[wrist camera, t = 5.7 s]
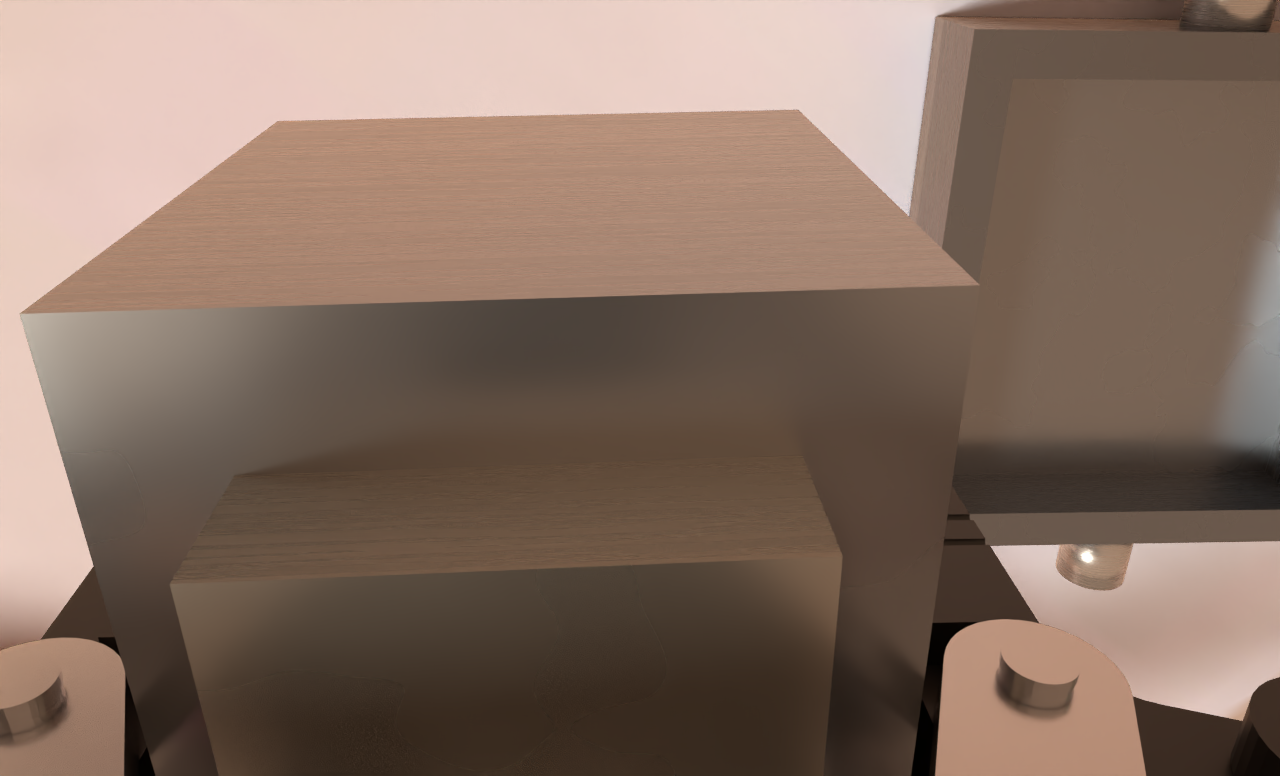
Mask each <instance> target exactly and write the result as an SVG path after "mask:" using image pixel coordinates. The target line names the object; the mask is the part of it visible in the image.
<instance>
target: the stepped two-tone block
mask: <svg viewBox="0 0 1280 776" xmlns="http://www.w3.org/2000/svg"><path fill="white" fill-rule="evenodd" d="M979 288H980V285H979V284H978V283H977V282H976V281H975V280H974V279H973V278H972V277H971V276H970V275H969V274H968V273H967V272H966V271H965V270H964V269H963V268H962V267H961V266H960V265H958V264H957V263H956V262H955V261H954V260H953V259H952V258H951V257H950V256H949V255H948V254H947V253H946V252H945V251H944V250H943V249H942V248H941V247H940V246H939V245H938V244H937V243H936V242H935V241H934V240H933V239H932V238H931V237H929V236H928V235H927V234H926V233H925V232H924V231H923V230H922V229H921V228H920V227H919V226H918V225H917V224H916V223H915V222H914V221H913V220H912V219H911V218H910V217H909V216H908V215H907V214H906V213H905V212H904V211H903V210H902V209H900V208H899V207H898V206H897V205H896V204H895V203H894V202H893V201H892V200H891V199H890V198H889V197H888V196H887V195H886V194H885V193H884V192H883V191H882V190H881V189H880V188H879V187H878V186H877V185H876V184H875V183H874V182H873V181H871V180H870V179H869V178H868V177H867V176H866V175H865V174H864V173H863V172H862V171H861V170H860V169H859V168H858V167H857V166H856V165H855V164H854V163H853V162H852V161H851V160H850V159H849V158H848V157H847V156H846V155H845V154H843V153H842V152H841V151H840V150H839V149H838V148H837V147H836V146H835V145H834V144H833V143H832V142H831V141H830V140H829V139H828V138H827V137H826V136H825V135H824V134H823V133H822V132H821V131H820V130H819V129H818V128H817V127H816V126H814V125H813V124H812V123H811V122H810V121H809V120H808V119H807V118H806V117H805V116H804V115H803V114H802V113H801V112H800V111H799V110H767V111H721V112H675V113H630V114H584V115H539V116H493V117H447V118H402V119H356V120H311V121H277V122H276V123H275V124H273V125H272V126H271V127H269V128H268V129H267V130H265V131H264V132H263V133H261V134H260V135H259V136H257V137H256V138H255V139H253V140H252V141H251V142H249V143H248V144H247V145H245V146H244V147H243V148H241V149H240V150H239V151H237V152H236V153H235V154H233V155H232V156H230V157H229V158H228V159H226V160H225V161H224V162H222V163H221V164H220V165H218V166H217V167H216V168H214V169H213V170H212V171H210V172H209V173H208V174H206V175H205V176H204V177H202V178H201V179H200V180H198V181H197V182H196V183H194V184H193V185H192V186H190V187H189V188H188V189H186V190H185V191H184V192H182V193H181V194H180V195H178V196H177V197H176V198H174V199H173V200H172V201H170V202H169V203H168V204H166V205H165V206H164V207H162V208H161V209H159V210H158V211H157V212H155V213H154V214H153V215H151V216H150V217H149V218H147V219H146V220H145V221H143V222H142V223H141V224H139V225H138V226H137V227H135V228H134V229H133V230H131V231H130V232H129V233H127V234H126V235H125V236H123V237H122V238H121V239H119V240H118V241H117V242H115V243H114V244H113V245H111V246H110V247H109V248H107V249H106V250H105V251H103V252H102V253H101V254H99V255H98V256H97V257H95V258H94V259H92V260H91V261H90V262H88V263H87V264H86V265H84V266H83V267H82V268H80V269H79V270H78V271H76V272H75V273H74V274H72V275H71V276H70V277H68V278H67V279H66V280H64V281H63V282H62V283H60V284H59V285H58V286H56V287H55V288H54V289H52V290H51V291H50V292H48V293H47V294H46V295H44V296H43V297H42V298H40V299H39V300H38V301H36V302H35V303H34V304H32V305H31V306H30V307H28V308H27V309H25V310H24V311H23V312H21V313H20V317H21V320H22V324H23V327H24V330H25V334H26V337H27V341H28V344H29V347H30V351H31V354H32V358H33V361H34V364H35V368H36V371H37V375H38V378H39V381H40V385H41V388H42V392H43V395H44V398H45V402H46V405H47V409H48V412H49V415H50V419H51V422H52V426H53V429H54V432H55V436H56V439H57V443H58V446H59V449H60V453H61V456H62V460H63V463H64V466H65V470H66V473H67V477H68V480H69V483H70V487H71V490H72V494H73V497H74V500H75V504H76V507H77V511H78V514H79V517H80V521H81V524H82V528H83V531H84V534H85V538H86V541H87V545H88V548H89V551H90V555H91V558H92V562H93V565H94V568H95V572H96V575H97V579H98V582H99V585H100V589H101V592H102V595H103V599H104V602H105V606H106V609H107V612H108V616H109V619H110V623H111V626H112V629H113V633H114V636H115V640H116V643H117V646H118V650H119V653H120V657H121V660H122V663H123V667H124V670H125V674H126V677H127V680H128V684H129V687H130V691H131V694H132V697H133V701H134V704H135V708H136V711H137V714H138V718H139V721H140V725H141V728H142V731H143V735H144V738H145V742H146V745H147V748H148V752H149V755H150V759H151V762H152V765H153V769H154V772H155V776H911V772H912V764H913V757H914V750H915V743H916V736H917V729H918V722H919V715H920V708H921V701H922V693H923V686H924V679H925V672H926V665H927V658H928V651H929V644H930V637H931V629H932V622H933V615H934V608H935V601H936V594H937V587H938V580H939V573H940V566H941V558H942V551H943V544H944V537H945V530H946V523H947V516H948V509H949V502H950V494H951V487H952V480H953V473H954V466H955V459H956V452H957V445H958V438H959V431H960V423H961V416H962V409H963V402H964V395H965V388H966V381H967V374H968V367H969V359H970V352H971V345H972V338H973V331H974V324H975V317H976V310H977V303H978V296H979Z"/></svg>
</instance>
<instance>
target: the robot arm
mask: <svg viewBox="0 0 1280 776" xmlns="http://www.w3.org/2000/svg"><path fill="white" fill-rule="evenodd" d="M0 776H155V772H154V769H153V765H152V762H151V759H150V755H149V752H148V748H147V745H146V742H145V738H144V735H143V731H142V728H141V725H140V721H139V718H138V714H137V711H136V708H135V704H134V701H133V697H132V694H131V691H130V687H129V684H128V680H127V677H126V674H125V670H124V667H123V663H122V660H121V657H120V653H119V650H118V646H117V643H116V640H115V636H114V633H113V629H112V626H111V623H110V619H109V616H108V612H107V609H106V606H105V602H104V599H103V595H102V592H101V589H100V585H99V582H98V579H97V575H96V572H95V568H94V567H93V568H92V569H91V571H90V572H89V574H88V575H87V576H86V578H85V579H84V581H83V582H82V583H81V585H80V586H79V587H78V589H77V590H76V592H75V593H74V594H73V596H72V597H71V598H70V600H69V601H68V603H67V604H66V605H65V607H64V608H63V610H62V611H61V612H60V614H59V615H58V616H57V618H56V619H55V621H54V622H53V623H52V625H51V626H50V628H49V629H48V630H47V632H46V633H45V634H44V636H43V637H42V639H41V640H37V641H32V642H27V643H23V644H19V645H16V646H12V647H9V648H6V649H3V650H1V651H0ZM911 776H1280V677H1279V678H1276V679H1272V680H1269V681H1267V682H1265V683H1264V684H1262V685H1261V686H1259V687H1258V688H1257V689H1256V691H1255V692H1254V693H1253V695H1252V697H1251V700H1250V703H1249V705H1248V708H1247V711H1246V714H1245V717H1244V719H1243V721H1239V720H1234V719H1229V718H1224V717H1219V716H1214V715H1210V714H1205V713H1200V712H1195V711H1190V710H1185V709H1180V708H1175V707H1170V706H1165V705H1161V704H1157V703H1153V702H1149V701H1145V700H1142V699H1139V698H1136V697H1133V695H1132V692H1131V689H1130V685H1129V684H1128V682H1127V680H1126V678H1125V676H1124V675H1123V674H1122V672H1121V671H1120V670H1119V669H1118V667H1117V666H1116V665H1115V664H1114V663H1113V662H1112V661H1111V660H1110V659H1109V658H1108V657H1107V656H1106V655H1104V654H1103V653H1102V652H1100V651H1099V650H1098V649H1096V648H1095V647H1093V646H1092V645H1090V644H1089V643H1087V642H1085V641H1083V640H1082V639H1080V638H1078V637H1076V636H1074V635H1071V634H1069V633H1067V632H1065V631H1062V630H1059V629H1056V628H1054V627H1051V626H1047V625H1043V624H1039V622H1038V621H1037V619H1036V618H1035V616H1034V614H1033V613H1032V611H1031V610H1030V608H1029V607H1028V605H1027V603H1026V602H1025V600H1024V599H1023V597H1022V596H1021V594H1020V592H1019V591H1018V589H1017V588H1016V586H1015V585H1014V583H1013V581H1012V580H1011V578H1010V577H1009V575H1008V574H1007V572H1006V570H1005V569H1004V567H1003V566H1002V564H1001V562H1000V561H999V559H998V558H997V556H996V555H995V553H994V551H993V550H992V548H991V547H990V545H986V544H985V537H984V536H983V534H982V533H981V531H980V529H979V528H978V526H977V525H976V523H975V522H974V520H970V514H969V512H968V510H967V509H966V507H965V506H964V504H963V503H962V501H961V499H960V498H959V496H958V495H957V493H956V492H955V490H954V488H953V487H951V494H950V502H949V509H948V516H947V523H946V530H945V537H944V544H943V551H942V558H941V566H940V573H939V580H938V587H937V594H936V601H935V608H934V615H933V622H932V629H931V637H930V644H929V651H928V658H927V665H926V672H925V679H924V686H923V693H922V701H921V708H920V715H919V722H918V729H917V736H916V743H915V750H914V757H913V764H912V772H911Z"/></svg>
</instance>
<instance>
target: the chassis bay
mask: <svg viewBox="0 0 1280 776" xmlns="http://www.w3.org/2000/svg"><path fill="white" fill-rule="evenodd" d="M1277 2H1278V0H1185V1H1184V6H1183V10H1182V14H1181V19H1180V20H1160V19H1079V18H999V17H936V19H935V26H934V34H933V41H932V49H931V56H930V64H929V72H928V79H927V87H926V94H925V102H924V109H923V117H922V124H921V132H920V140H919V147H918V155H917V162H916V170H915V177H914V185H913V192H912V200H911V208H910V215H909V217H910V218H911V219H912V220H913V221H914V222H915V223H916V224H917V225H918V226H919V227H920V228H921V229H922V230H923V231H924V232H925V233H926V234H927V235H928V236H929V237H931V238H932V239H933V240H934V241H935V242H936V243H937V244H938V245H939V246H940V247H941V248H942V249H943V250H944V251H945V252H946V253H947V254H948V255H949V256H950V257H951V258H952V259H953V260H954V261H955V262H956V263H957V264H958V265H960V266H961V267H962V268H963V269H964V270H965V271H966V272H967V273H968V274H969V275H970V276H971V277H972V278H973V279H974V280H975V281H976V282H977V283H978V284H979V285H980V288H979V296H978V303H977V310H976V317H975V324H974V331H973V338H972V345H971V352H970V359H969V367H968V374H967V381H966V388H965V395H964V402H963V409H962V416H961V423H960V431H959V438H958V445H957V452H956V459H955V466H954V473H953V480H952V487H953V488H954V490H955V492H956V493H957V495H958V496H959V498H960V499H961V501H962V503H963V504H964V506H965V507H966V509H967V510H968V512H969V514H970V520H974V522H975V523H976V525H977V526H978V528H979V529H980V531H981V533H982V534H983V536H984V537H985V544H986V545H990V546H1003V545H1060V547H1059V551H1058V555H1057V560H1056V568H1057V570H1058V572H1059V573H1060V574H1061V575H1062V576H1063V577H1064V578H1066V579H1067V580H1069V581H1070V582H1072V583H1074V584H1076V585H1079V586H1081V587H1085V588H1088V589H1093V590H1112V589H1115V588H1118V587H1119V586H1121V585H1122V583H1123V581H1124V578H1125V574H1126V570H1127V566H1128V562H1129V559H1130V555H1131V551H1132V547H1133V544H1134V543H1189V542H1251V541H1280V21H1273V17H1274V13H1275V9H1276V6H1277Z"/></svg>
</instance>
